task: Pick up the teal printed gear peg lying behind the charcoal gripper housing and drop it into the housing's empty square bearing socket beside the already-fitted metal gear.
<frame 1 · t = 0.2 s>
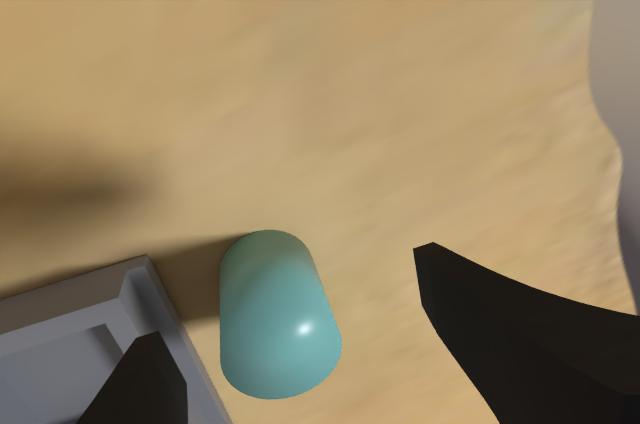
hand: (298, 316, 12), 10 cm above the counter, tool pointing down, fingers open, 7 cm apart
housing: (117, 400, 24), on the counter
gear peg: (267, 271, 23), on the counter
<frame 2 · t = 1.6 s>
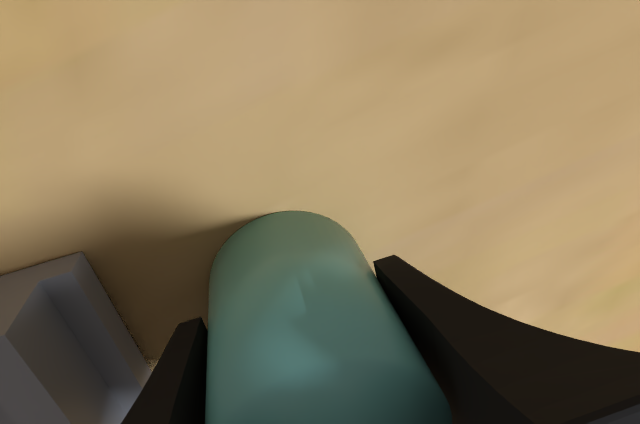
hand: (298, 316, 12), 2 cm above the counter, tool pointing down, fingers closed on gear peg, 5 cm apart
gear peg: (289, 281, 14), on the counter, touching gripper
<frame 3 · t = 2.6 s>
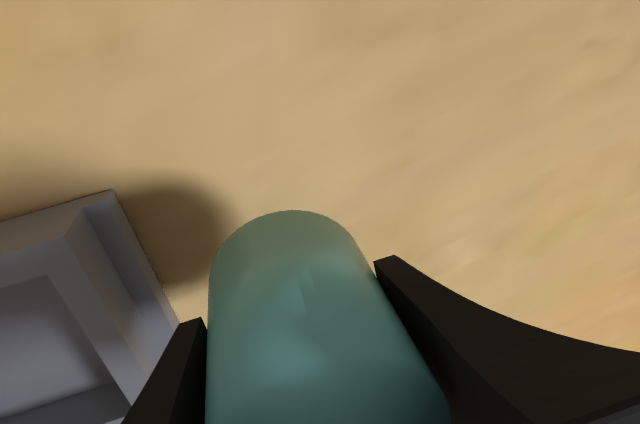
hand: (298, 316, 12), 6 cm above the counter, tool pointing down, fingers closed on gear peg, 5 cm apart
housing: (79, 388, 19), on the counter
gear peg: (288, 280, 14), point 4 cm above the counter, touching gripper
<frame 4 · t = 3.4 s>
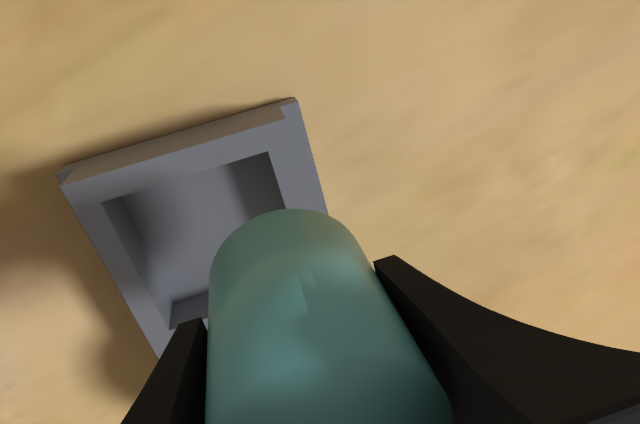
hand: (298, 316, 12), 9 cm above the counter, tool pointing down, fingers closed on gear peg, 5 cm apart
housing: (241, 279, 22), on the counter
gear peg: (289, 279, 14), point 8 cm above the counter, touching gripper
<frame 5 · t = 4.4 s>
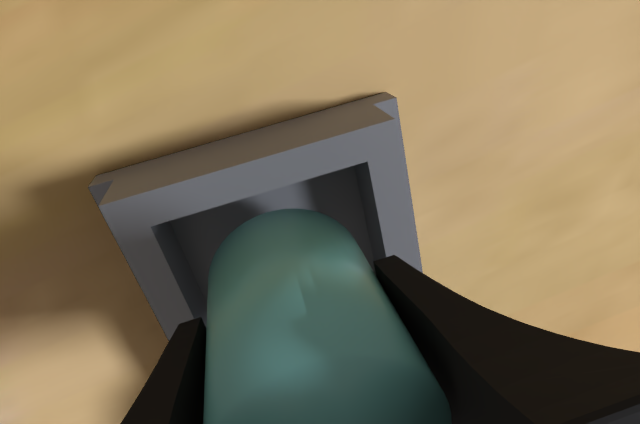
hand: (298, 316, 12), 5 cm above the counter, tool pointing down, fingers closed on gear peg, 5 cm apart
housing: (303, 313, 18), on the counter
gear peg: (288, 279, 14), point 3 cm above the counter, touching gripper
when the fingers open (4 cm above the counter, at t = 5.1 s): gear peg drops 1 cm, resting on housing.
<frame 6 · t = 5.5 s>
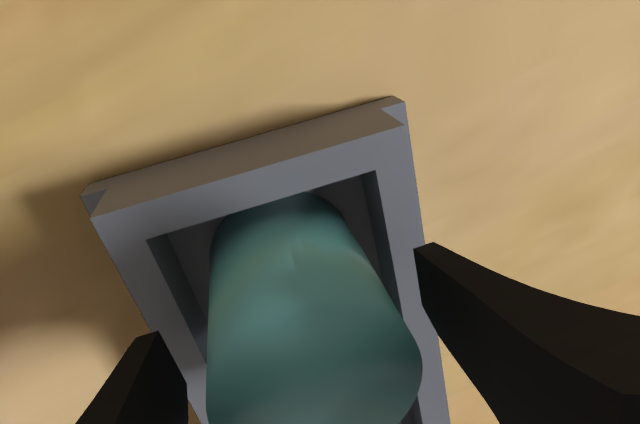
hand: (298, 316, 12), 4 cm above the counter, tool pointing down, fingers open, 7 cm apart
housing: (305, 325, 18), on the counter
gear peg: (283, 255, 15), point 1 cm above the counter, touching housing
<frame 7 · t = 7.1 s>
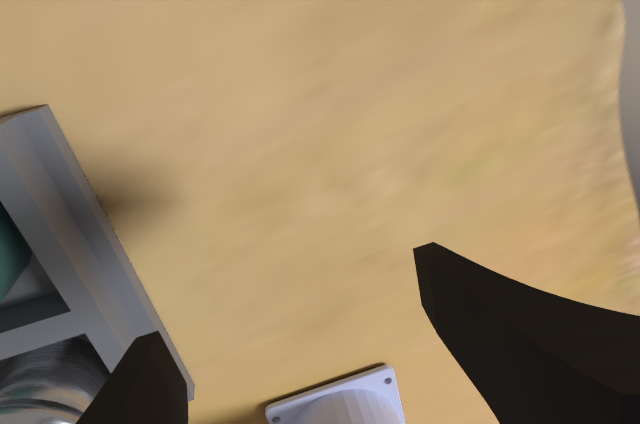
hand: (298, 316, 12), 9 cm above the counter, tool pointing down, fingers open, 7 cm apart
housing: (27, 302, 20), on the counter
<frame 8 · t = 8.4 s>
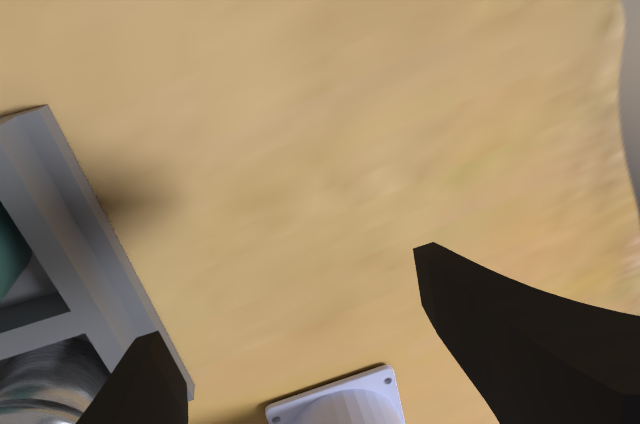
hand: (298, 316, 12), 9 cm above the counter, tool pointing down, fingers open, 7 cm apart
housing: (27, 302, 20), on the counter
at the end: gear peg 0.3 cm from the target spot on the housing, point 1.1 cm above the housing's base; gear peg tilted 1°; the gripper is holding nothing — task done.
